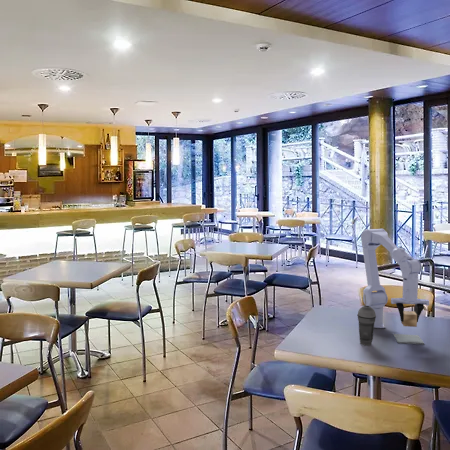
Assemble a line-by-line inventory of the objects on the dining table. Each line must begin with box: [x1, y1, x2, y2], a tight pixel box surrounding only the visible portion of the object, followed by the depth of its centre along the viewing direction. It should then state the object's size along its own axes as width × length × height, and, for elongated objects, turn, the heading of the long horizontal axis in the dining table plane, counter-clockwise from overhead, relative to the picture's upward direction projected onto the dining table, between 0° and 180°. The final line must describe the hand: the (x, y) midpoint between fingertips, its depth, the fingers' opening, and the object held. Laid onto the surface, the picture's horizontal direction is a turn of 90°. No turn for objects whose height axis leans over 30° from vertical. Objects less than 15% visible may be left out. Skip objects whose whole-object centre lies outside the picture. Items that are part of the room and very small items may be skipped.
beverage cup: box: [357, 295, 376, 347], centre depth 188 cm, size 7×7×20 cm
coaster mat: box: [393, 333, 425, 346], centre depth 194 cm, size 10×10×1 cm
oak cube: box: [401, 310, 418, 328], centre depth 193 cm, size 5×5×5 cm
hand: (409, 321), depth 193 cm, fingers closed on oak cube, 5 cm apart
